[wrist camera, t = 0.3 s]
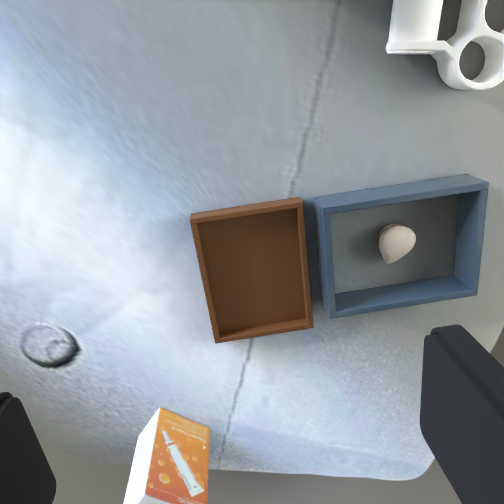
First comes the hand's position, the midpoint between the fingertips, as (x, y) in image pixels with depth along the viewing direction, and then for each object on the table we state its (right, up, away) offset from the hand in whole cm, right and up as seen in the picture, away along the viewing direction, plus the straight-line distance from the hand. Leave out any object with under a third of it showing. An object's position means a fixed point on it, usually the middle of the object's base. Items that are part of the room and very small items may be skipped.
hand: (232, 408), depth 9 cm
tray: (+1, +2, +39) cm, 39 cm away
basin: (+17, +5, +39) cm, 43 cm away
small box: (-11, -21, +48) cm, 54 cm away
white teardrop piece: (+17, +5, +39) cm, 43 cm away
